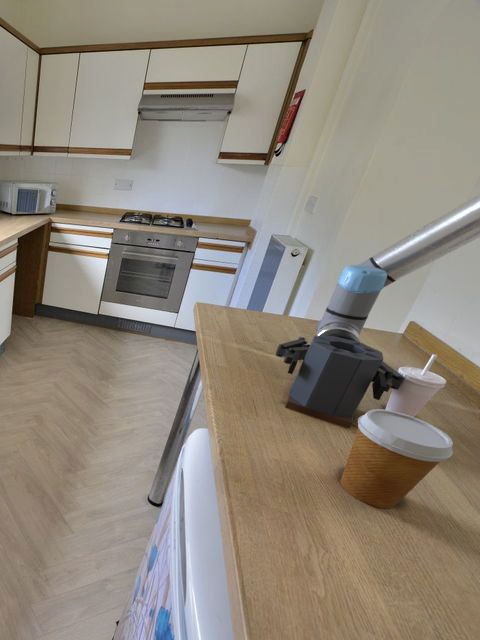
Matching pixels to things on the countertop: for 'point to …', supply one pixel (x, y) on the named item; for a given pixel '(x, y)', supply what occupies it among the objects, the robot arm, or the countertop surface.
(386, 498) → the disposable coffee cup
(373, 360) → the grey hollow prism
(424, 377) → the smoothie
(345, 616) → the countertop surface
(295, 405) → the towel holder
